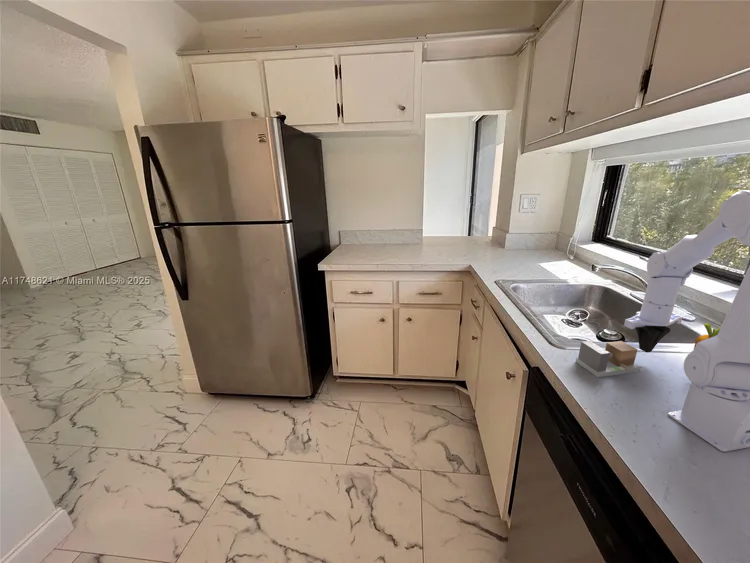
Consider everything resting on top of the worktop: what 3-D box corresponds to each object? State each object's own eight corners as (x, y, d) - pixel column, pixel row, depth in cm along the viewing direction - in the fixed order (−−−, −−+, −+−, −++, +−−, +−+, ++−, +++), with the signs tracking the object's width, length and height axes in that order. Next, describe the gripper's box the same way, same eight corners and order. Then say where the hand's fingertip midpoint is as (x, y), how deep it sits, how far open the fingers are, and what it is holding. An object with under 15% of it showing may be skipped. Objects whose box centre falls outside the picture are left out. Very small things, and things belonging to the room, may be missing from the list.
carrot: (683, 380, 74) (702, 323, 69) (684, 371, 77) (703, 316, 72) (713, 389, 70) (736, 330, 66) (713, 379, 74) (735, 322, 69)
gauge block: (641, 369, 76) (645, 353, 75) (621, 372, 75) (625, 356, 74) (617, 355, 82) (621, 340, 81) (598, 358, 81) (602, 343, 80)
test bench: (640, 371, 77) (646, 349, 75) (597, 377, 76) (603, 355, 74) (615, 356, 84) (620, 336, 82) (575, 361, 82) (579, 340, 80)
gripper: (666, 293, 81) (653, 339, 85) (618, 298, 79) (607, 345, 83) (697, 303, 74) (681, 353, 78) (645, 309, 72) (631, 359, 76)
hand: (645, 350), depth 80 cm, fingers closed
